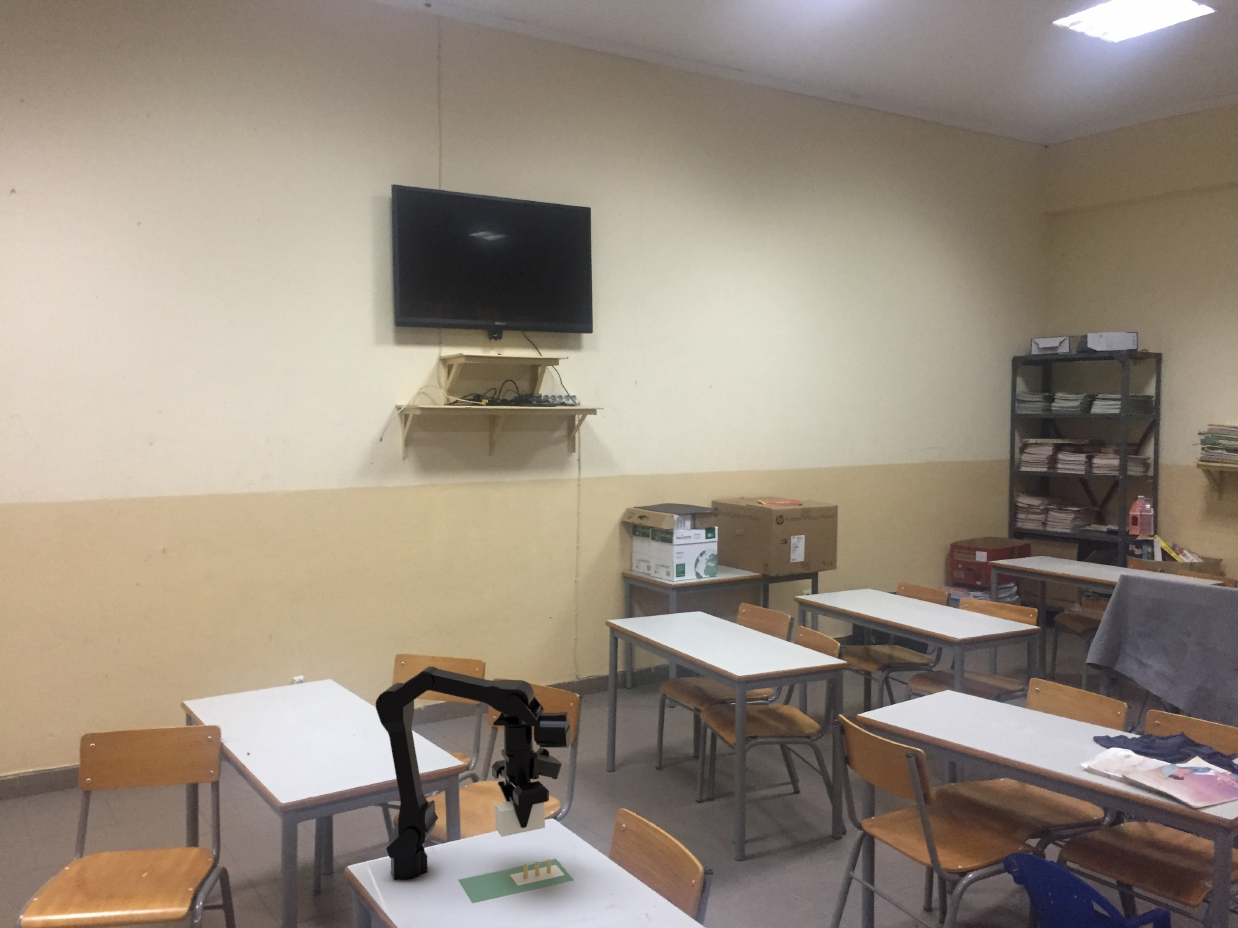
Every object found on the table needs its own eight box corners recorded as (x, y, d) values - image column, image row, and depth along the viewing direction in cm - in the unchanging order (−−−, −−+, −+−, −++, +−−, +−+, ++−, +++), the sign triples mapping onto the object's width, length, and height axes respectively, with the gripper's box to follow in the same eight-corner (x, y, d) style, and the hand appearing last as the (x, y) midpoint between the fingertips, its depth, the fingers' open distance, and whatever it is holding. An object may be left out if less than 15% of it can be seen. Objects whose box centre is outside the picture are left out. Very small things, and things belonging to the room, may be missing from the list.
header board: (472, 907, 176) (472, 889, 176) (458, 884, 185) (458, 867, 185) (574, 884, 185) (574, 867, 185) (555, 863, 194) (555, 846, 194)
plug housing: (501, 836, 181) (500, 811, 180) (495, 828, 184) (495, 803, 184) (544, 827, 184) (544, 802, 184) (538, 819, 188) (537, 795, 188)
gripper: (573, 754, 179) (575, 833, 179) (541, 726, 196) (542, 799, 196) (518, 763, 174) (520, 845, 175) (490, 734, 191) (492, 808, 192)
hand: (520, 823), depth 184 cm, fingers closed on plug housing, 4 cm apart
